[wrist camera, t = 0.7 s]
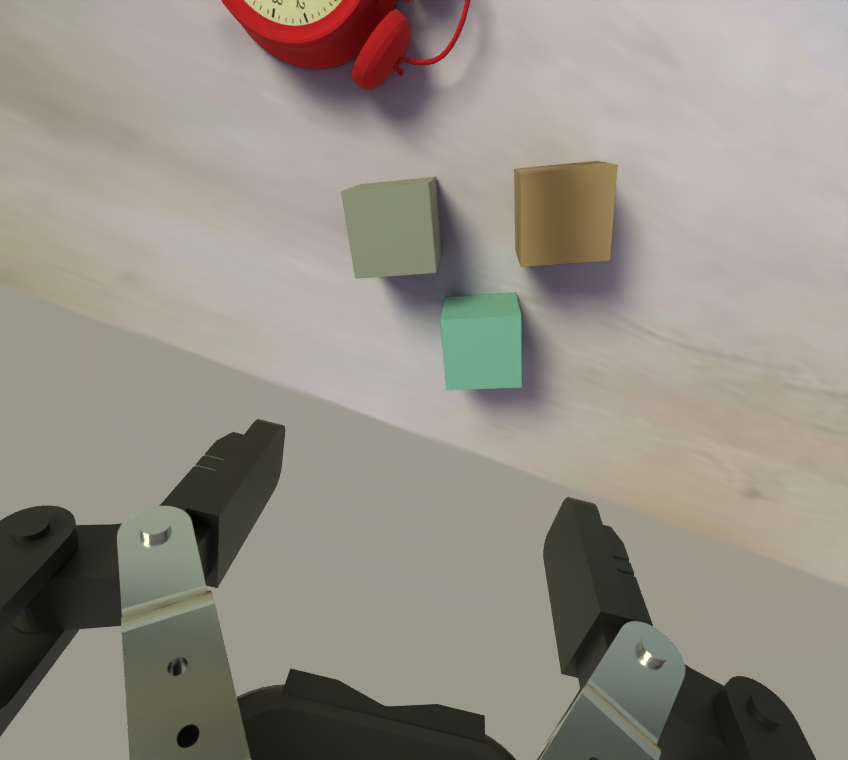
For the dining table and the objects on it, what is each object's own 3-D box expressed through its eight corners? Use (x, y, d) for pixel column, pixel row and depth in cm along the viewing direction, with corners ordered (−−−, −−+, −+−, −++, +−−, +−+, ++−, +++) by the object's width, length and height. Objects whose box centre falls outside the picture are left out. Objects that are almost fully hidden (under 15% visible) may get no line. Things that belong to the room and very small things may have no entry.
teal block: (515, 292, 33) (521, 315, 29) (516, 356, 35) (521, 387, 31) (445, 296, 34) (440, 320, 30) (450, 359, 36) (446, 390, 32)
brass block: (596, 160, 29) (617, 164, 25) (591, 243, 31) (610, 260, 27) (514, 168, 30) (520, 174, 25) (515, 249, 32) (520, 266, 28)
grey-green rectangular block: (435, 176, 30) (428, 183, 26) (441, 254, 33) (435, 272, 28) (360, 184, 31) (341, 191, 27) (371, 260, 33) (355, 278, 29)
